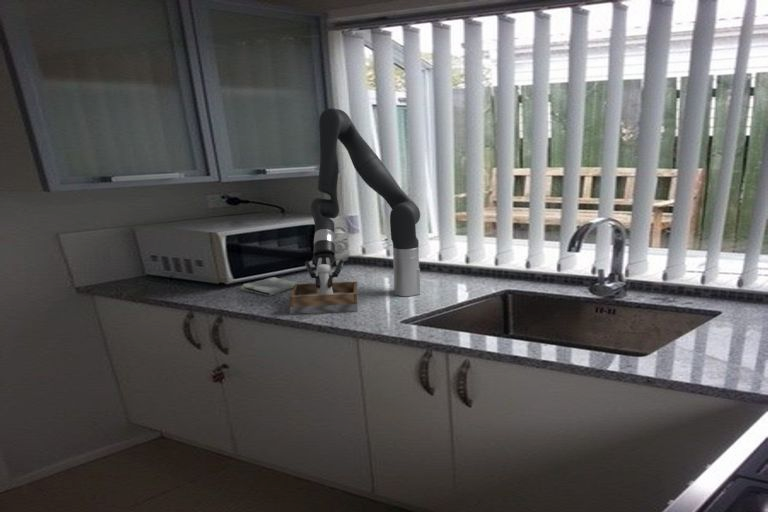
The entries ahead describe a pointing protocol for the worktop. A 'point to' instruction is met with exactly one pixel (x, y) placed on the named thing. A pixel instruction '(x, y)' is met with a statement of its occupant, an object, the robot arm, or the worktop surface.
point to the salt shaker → (324, 279)
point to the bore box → (324, 298)
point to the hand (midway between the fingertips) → (324, 287)
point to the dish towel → (269, 286)
